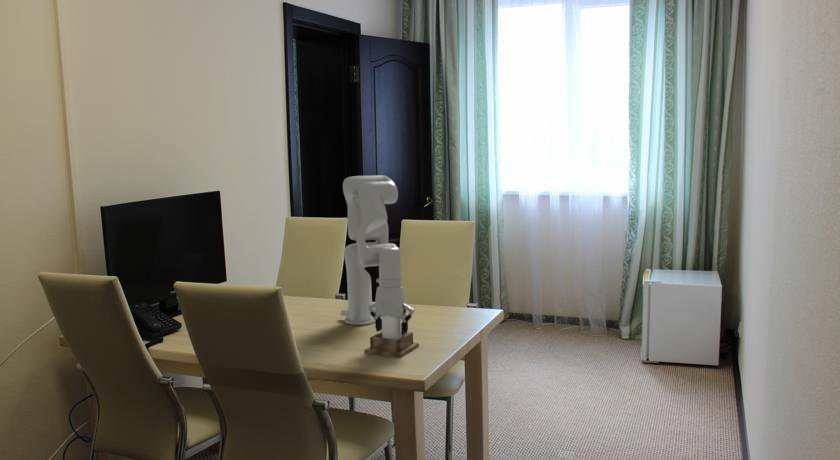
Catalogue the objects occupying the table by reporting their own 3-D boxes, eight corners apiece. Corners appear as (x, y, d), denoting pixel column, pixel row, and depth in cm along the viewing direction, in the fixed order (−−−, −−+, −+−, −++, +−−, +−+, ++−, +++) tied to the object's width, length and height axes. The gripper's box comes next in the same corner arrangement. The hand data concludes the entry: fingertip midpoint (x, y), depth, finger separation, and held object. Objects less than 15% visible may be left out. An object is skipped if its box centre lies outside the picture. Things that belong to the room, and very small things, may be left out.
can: (403, 344, 257) (403, 310, 256) (397, 349, 251) (396, 314, 250) (386, 342, 259) (385, 309, 258) (379, 347, 253) (379, 313, 252)
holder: (364, 353, 252) (364, 338, 251) (383, 342, 264) (382, 328, 264) (401, 357, 246) (401, 342, 245) (418, 346, 259) (418, 331, 258)
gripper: (362, 283, 253) (364, 332, 255) (408, 286, 246) (409, 336, 248) (373, 279, 259) (374, 327, 261) (418, 282, 252) (419, 331, 254)
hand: (391, 331), depth 255 cm, fingers open, 9 cm apart
